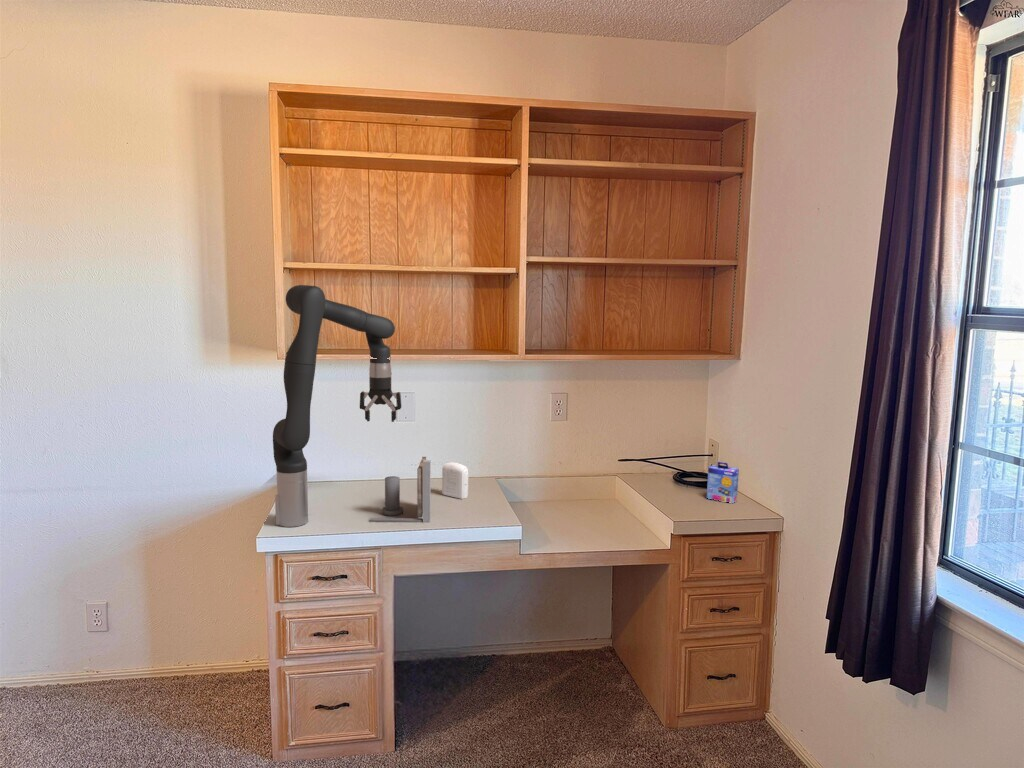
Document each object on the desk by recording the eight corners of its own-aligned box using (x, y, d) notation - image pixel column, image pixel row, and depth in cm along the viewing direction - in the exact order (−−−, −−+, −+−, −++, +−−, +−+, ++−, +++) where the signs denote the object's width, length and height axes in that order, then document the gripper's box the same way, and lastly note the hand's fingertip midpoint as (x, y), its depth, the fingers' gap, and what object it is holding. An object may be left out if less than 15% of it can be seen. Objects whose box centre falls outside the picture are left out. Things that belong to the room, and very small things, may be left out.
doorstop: (380, 516, 230) (380, 481, 229) (383, 509, 237) (383, 475, 236) (401, 516, 230) (401, 481, 229) (404, 509, 237) (404, 475, 236)
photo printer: (469, 497, 253) (470, 463, 251) (462, 500, 250) (462, 466, 248) (447, 492, 259) (447, 459, 257) (440, 495, 255) (440, 461, 254)
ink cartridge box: (705, 499, 255) (707, 460, 253) (710, 496, 260) (712, 458, 258) (732, 504, 250) (735, 465, 248) (737, 500, 254) (739, 462, 252)
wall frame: (369, 522, 224) (368, 461, 222) (370, 519, 227) (370, 459, 224) (429, 522, 225) (429, 461, 222) (430, 520, 227) (430, 460, 225)
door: (422, 501, 241) (422, 456, 239) (430, 502, 242) (430, 456, 239) (417, 517, 225) (417, 469, 223) (426, 517, 225) (426, 469, 223)
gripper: (357, 376, 239) (358, 423, 242) (399, 377, 240) (399, 423, 242) (361, 373, 247) (362, 419, 249) (402, 374, 247) (402, 419, 249)
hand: (380, 421), depth 246 cm, fingers open, 8 cm apart
